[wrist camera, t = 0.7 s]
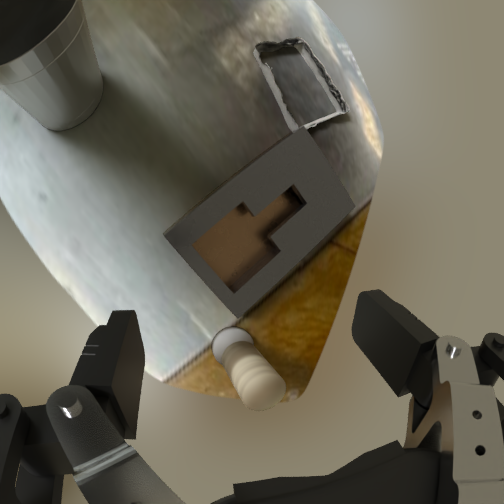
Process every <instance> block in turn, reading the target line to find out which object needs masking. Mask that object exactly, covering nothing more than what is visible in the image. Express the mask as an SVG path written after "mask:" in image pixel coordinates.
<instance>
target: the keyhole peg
mask: <svg viewBox="0 0 504 504" xmlns="http://www.w3.org/2000/svg"><path fill="white" fill-rule="evenodd" d="M212 352H213V354H214V356H215V358H216V360H217V361H218V362H219V363H220V364H222V365H223V367H224V368H225V370H226V372H227V374H228V376H229V378H230V379H231V381H232V383H233V385H234V387H235V389H236V390H237V392H238V394H239V396H240V397H241V399H242V401H243V403H244V404H245V406H246V407H247V408H249V409H251V410H254V411H264V410H267V409H270V408H272V407H274V406H275V405H276V404H278V403H279V402H280V401H281V400H282V398H283V396H284V394H285V391H286V384H285V381H284V380H283V379H282V378H281V376H280V375H279V374H278V373H277V372H276V371H275V370H274V368H273V367H272V366H271V365H270V364H269V363H268V361H267V360H266V359H265V358H264V357H263V356H262V354H261V353H260V352H259V351H258V350H257V348H256V347H255V346H254V343H253V340H252V338H251V336H250V335H249V334H248V333H247V332H246V331H245V330H244V329H242V328H240V327H235V326H232V327H227V328H224V329H222V330H221V331H219V332H218V333H217V334H216V335H215V337H214V338H213V341H212Z"/></svg>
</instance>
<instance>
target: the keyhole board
mask: <svg viewBox="0 0 504 504" xmlns="http://www.w3.org/2000/svg"><path fill="white" fill-rule="evenodd" d="M354 207H355V205H354V203H353V201H352V200H351V198H350V196H349V194H348V193H347V191H346V189H345V188H344V186H343V184H342V183H341V181H340V180H339V178H338V176H337V175H336V173H335V172H334V170H333V168H332V167H331V165H330V164H329V162H328V161H327V159H326V158H325V156H324V154H323V153H322V151H321V150H320V148H319V147H318V145H317V144H316V143H315V141H314V140H313V138H312V137H311V135H310V134H309V132H308V131H307V129H306V128H305V127H304V126H302V127H300V128H298V129H296V130H294V131H293V132H291V133H289V134H288V135H286V136H285V137H283V138H282V139H281V140H279V141H278V142H277V143H275V144H274V145H272V146H271V147H270V148H268V149H267V150H266V151H264V152H263V153H262V154H260V155H259V156H258V157H256V158H255V159H254V160H252V161H251V162H250V163H248V164H247V165H246V166H244V167H243V168H242V169H241V170H239V171H238V172H237V173H235V174H234V175H233V176H232V177H230V178H229V179H228V180H226V181H225V182H224V183H223V184H221V185H220V186H219V187H218V188H216V189H215V190H214V191H213V192H211V193H210V194H209V195H208V196H207V197H205V198H204V199H203V200H202V201H200V202H199V203H198V204H197V205H196V206H194V207H193V208H192V209H191V210H190V211H188V212H187V213H186V214H185V215H184V216H183V217H181V218H180V219H179V220H178V221H177V222H176V223H174V224H173V225H172V226H171V227H170V228H169V229H167V230H166V231H165V232H164V233H163V235H164V236H165V238H166V239H167V240H168V241H169V242H170V244H171V245H172V246H173V247H174V248H175V249H176V251H177V252H178V253H179V254H180V255H181V256H182V257H183V259H184V260H185V261H186V262H187V263H188V264H189V266H190V267H191V268H192V269H193V270H194V271H195V272H196V273H197V275H198V276H199V277H200V278H201V279H202V280H203V281H204V282H205V284H206V285H207V286H208V287H209V288H210V289H211V290H212V291H213V292H214V294H215V295H216V296H217V297H218V298H219V299H220V300H221V301H222V302H223V303H224V304H225V306H226V307H227V308H228V309H229V310H230V311H231V312H232V313H233V314H234V315H235V316H236V317H237V318H239V317H240V316H241V315H243V314H244V313H245V312H246V311H247V310H248V309H249V308H250V307H251V306H252V305H254V304H255V303H256V302H257V301H258V300H259V299H260V298H261V297H262V296H263V295H264V294H265V293H267V292H268V291H269V290H270V289H271V288H272V287H273V286H274V285H275V284H276V283H277V282H278V281H279V280H281V279H282V278H283V277H284V276H285V275H286V274H287V273H288V272H289V271H290V270H291V269H292V268H293V267H294V266H295V265H296V264H297V263H298V262H300V261H301V260H302V259H303V258H304V257H305V256H306V255H307V254H308V253H309V252H310V251H311V250H312V249H313V248H314V247H315V246H316V245H317V244H318V243H319V242H320V241H321V240H322V239H323V238H324V237H325V236H326V235H327V234H328V233H329V232H330V231H331V230H332V229H333V228H334V227H335V226H336V225H337V224H338V223H340V222H341V221H342V220H343V219H344V218H345V217H346V216H347V215H348V214H349V213H350V211H351V210H352V209H353V208H354Z"/></svg>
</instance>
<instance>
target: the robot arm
mask: <svg viewBox="0 0 504 504" xmlns="http://www.w3.org/2000/svg"><path fill="white" fill-rule="evenodd" d="M0 89H1V90H2V91H3V92H4V93H5V94H7V95H8V96H9V97H10V98H11V99H12V100H13V101H15V102H16V103H17V104H18V105H19V106H20V107H22V108H23V109H24V110H25V111H26V112H27V113H29V114H30V115H31V116H32V117H33V118H34V119H35V120H37V121H38V122H39V123H40V124H41V125H43V126H44V127H46V128H48V129H50V130H55V131H60V130H66V129H70V128H73V127H75V126H77V125H79V124H80V123H82V122H83V121H84V120H86V119H87V118H88V117H89V116H90V115H91V114H92V113H93V111H94V110H95V109H96V107H97V106H98V104H99V102H100V100H101V97H102V94H103V79H102V76H101V72H100V69H99V65H98V62H97V58H96V55H95V51H94V48H93V44H92V40H91V36H90V32H89V29H88V25H87V20H86V16H85V12H84V8H83V4H82V0H0ZM352 336H353V339H354V341H355V343H356V344H357V345H358V346H359V348H360V349H361V350H362V352H364V354H365V355H366V356H367V358H368V359H369V360H370V362H371V363H372V364H373V366H374V367H375V368H376V369H377V370H378V372H379V373H380V374H381V376H382V377H383V378H384V379H385V381H386V382H387V383H388V385H389V386H390V387H391V389H392V390H393V391H394V393H395V394H396V395H397V396H398V397H400V396H403V395H406V394H408V393H410V392H411V394H412V397H411V399H410V402H409V413H408V424H407V433H406V440H405V444H404V447H403V448H402V446H401V445H400V443H399V442H398V440H396V441H394V442H391V443H389V444H386V445H384V446H382V447H379V448H377V449H374V450H372V451H369V452H366V453H364V454H362V455H361V456H359V457H358V458H356V459H354V460H353V461H351V462H350V463H348V464H347V465H345V466H343V467H342V468H340V469H338V470H337V471H335V472H334V473H331V474H329V475H325V476H310V477H277V478H272V479H266V480H259V481H253V482H246V483H238V484H233V488H234V494H232V495H229V496H226V497H224V498H221V499H219V500H217V501H215V502H213V503H211V504H504V406H503V405H502V404H501V403H500V402H499V400H498V399H497V398H496V397H495V392H494V389H493V386H494V384H495V383H496V381H497V379H498V378H499V376H500V377H501V378H502V379H503V380H504V336H502V335H500V334H497V333H488V334H486V335H485V337H484V339H483V341H482V344H481V345H480V346H477V347H470V346H469V345H468V344H467V343H466V342H465V341H464V340H462V339H460V338H457V337H453V336H443V337H438V336H437V335H436V334H435V333H434V332H433V331H432V330H431V329H430V328H428V327H427V326H426V325H425V324H424V323H422V322H421V321H420V320H418V319H417V317H416V316H414V315H413V314H411V312H410V311H409V310H407V309H406V308H405V307H404V306H403V305H401V304H399V303H397V302H395V301H393V300H392V299H391V298H389V297H388V296H387V295H386V294H385V293H384V292H382V291H381V290H379V289H378V290H371V291H364V292H361V293H360V294H359V296H358V300H357V305H356V310H355V315H354V319H353V324H352ZM144 366H145V352H144V346H143V342H142V338H141V333H140V329H139V324H138V320H137V315H136V312H135V311H134V310H116V311H112V313H111V316H110V318H109V320H108V323H107V325H99V326H98V327H97V328H96V329H95V330H94V331H93V332H92V333H91V334H90V335H89V338H88V340H87V342H86V346H85V347H84V349H83V351H82V355H81V356H80V358H79V361H78V363H77V366H76V368H75V371H74V373H73V376H72V378H71V381H70V383H69V385H68V386H64V387H61V388H59V389H57V390H56V391H55V392H53V394H51V396H50V397H49V399H48V401H47V403H46V404H45V405H39V406H32V407H22V406H21V404H20V402H19V401H18V399H16V398H15V397H14V396H13V395H10V394H0V504H61V497H62V487H63V479H64V474H73V477H74V480H75V482H76V483H77V485H78V487H79V489H80V490H81V492H82V493H83V495H84V497H85V498H86V500H87V501H88V503H89V504H185V502H183V501H182V500H181V499H180V498H179V497H178V496H177V495H176V494H175V493H174V492H173V491H172V490H171V489H170V488H169V487H168V486H167V485H166V484H165V483H164V482H163V481H162V480H161V479H160V477H159V476H158V475H157V474H156V473H155V472H154V471H153V470H152V469H151V468H150V467H149V465H148V464H147V463H146V462H145V461H144V460H143V458H142V457H141V456H140V455H139V454H138V453H137V451H136V450H135V449H134V448H133V447H132V446H131V445H130V446H129V445H128V444H127V443H126V442H125V440H124V439H136V430H137V419H138V411H139V402H140V394H141V387H142V380H143V373H144ZM19 463H20V467H19ZM18 468H19V472H18ZM17 472H18V477H17V481H16V476H17ZM15 482H16V487H15Z"/></svg>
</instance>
